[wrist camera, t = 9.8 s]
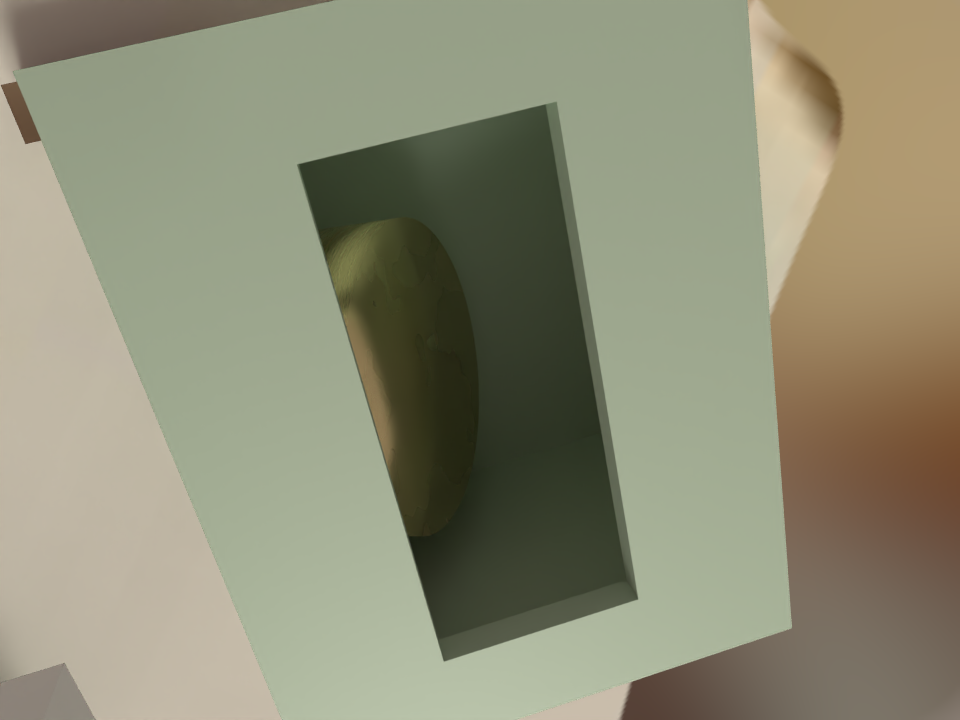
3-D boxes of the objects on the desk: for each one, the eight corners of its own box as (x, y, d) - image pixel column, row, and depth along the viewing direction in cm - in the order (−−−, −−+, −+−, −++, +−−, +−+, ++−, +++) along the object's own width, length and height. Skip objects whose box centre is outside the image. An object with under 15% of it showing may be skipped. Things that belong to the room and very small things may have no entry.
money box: (146, 67, 24) (12, 70, 13) (552, -24, 25) (741, -89, 14) (308, 527, 31) (310, 788, 20) (624, 433, 32) (792, 627, 21)
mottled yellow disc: (412, 482, 28) (270, 589, 20) (378, 230, 27) (214, 230, 19) (491, 481, 27) (377, 591, 19) (460, 219, 26) (324, 213, 18)
